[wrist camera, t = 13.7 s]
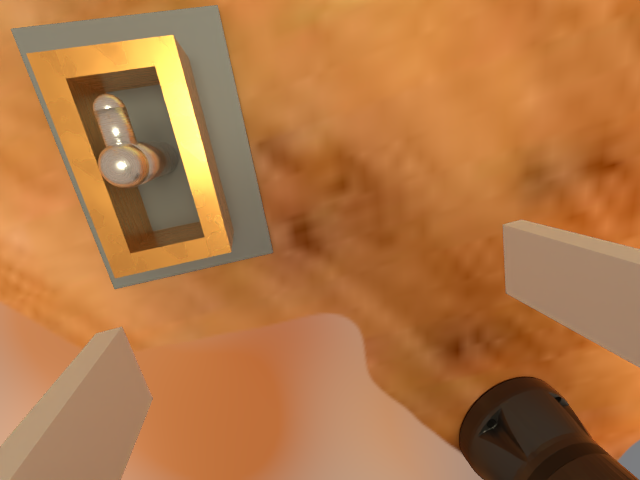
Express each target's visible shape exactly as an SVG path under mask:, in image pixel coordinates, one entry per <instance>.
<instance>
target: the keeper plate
mask: <svg viewBox="0 0 640 480" xmlns="http://www.w3.org/2000/svg"><path fill="white" fill-rule="evenodd" d="M11 31H12V33H13V36H14V38H15V41H16V43H17V46H18V48H19V51H20V53H21V56H22V58H23V61H24V63H25V66H26V68H27V71H28V73H29V76H30V78H31V81H32V83H33V86H34V88H35V91H36V94H37V96H38V99H39V101H40V104H41V106H42V109H43V111H44V114H45V116H46V119H47V121H48V124H49V126H50V129H51V131H52V134H53V136H54V139H55V141H56V144H57V146H58V149H59V151H60V154H61V156H62V159H63V161H64V164H65V166H66V169H67V171H68V174H69V176H70V179H71V181H72V184H73V186H74V189H75V191H76V194H77V196H78V199H79V201H80V204H81V206H82V209H83V211H84V214H85V216H86V219H87V221H88V224H89V226H90V229H91V231H92V234H93V236H94V239H95V241H96V244H97V246H98V249H99V251H100V254H101V256H102V259H103V261H104V264H105V267H106V269H107V272H108V274H109V277H110V279H111V282H112V284H113V287H114V289H118V288H122V287H127V286H131V285H135V284H140V283H144V282H148V281H153V280H157V279H161V278H166V277H170V276H175V275H179V274H183V273H188V272H192V271H196V270H201V269H205V268H209V267H214V266H218V265H223V264H227V263H231V262H236V261H240V260H244V259H249V258H253V257H257V256H262V255H266V254H271V253H273V249H272V245H271V240H270V236H269V231H268V227H267V223H266V218H265V214H264V209H263V205H262V200H261V196H260V192H259V187H258V183H257V178H256V174H255V169H254V165H253V161H252V156H251V152H250V147H249V143H248V138H247V134H246V129H245V125H244V121H243V116H242V112H241V107H240V103H239V98H238V94H237V90H236V85H235V81H234V76H233V72H232V67H231V63H230V59H229V54H228V50H227V45H226V41H225V36H224V32H223V28H222V23H221V19H220V14H219V10H218V5H214V6H205V7H196V8H188V9H179V10H170V11H161V12H153V13H144V14H135V15H127V16H118V17H109V18H101V19H92V20H83V21H74V22H66V23H57V24H48V25H40V26H31V27H22V28H13V29H11ZM167 35H174V37H175V38H176V40H177V41H178V43H179V44H180V46H181V47H182V49H183V50H184V52H185V53H186V55H187V56H188V58H189V61H190V65H191V68H192V72H193V76H194V80H195V84H196V88H197V91H198V95H199V99H200V103H201V107H202V111H203V114H204V118H205V122H206V126H207V130H208V134H209V137H210V141H211V145H212V149H213V153H214V157H215V160H216V164H217V168H218V172H219V176H220V180H221V183H222V187H223V191H224V195H225V199H226V203H227V206H228V210H229V214H230V218H231V222H232V226H233V229H234V235H233V244H232V252H230V253H226V254H221V255H217V256H212V257H208V258H203V259H199V260H195V261H190V262H186V263H181V264H177V265H172V266H168V267H164V268H159V269H155V270H150V271H146V272H142V273H137V274H133V275H128V276H124V277H119V278H115V277H114V275H113V272H112V269H111V267H110V264H109V262H108V259H107V257H106V254H105V252H104V249H103V247H102V244H101V242H100V239H99V237H98V234H97V232H96V229H95V227H94V224H93V221H92V219H91V216H90V214H89V211H88V209H87V206H86V204H85V201H84V199H83V196H82V194H81V191H80V189H79V186H78V184H77V181H76V178H75V176H74V173H73V171H72V168H71V166H70V163H69V161H68V158H67V156H66V153H65V151H64V148H63V146H62V143H61V141H60V138H59V136H58V133H57V130H56V128H55V125H54V123H53V120H52V118H51V115H50V113H49V110H48V108H47V105H46V103H45V100H44V98H43V95H42V93H41V90H40V87H39V85H38V82H37V80H36V77H35V75H34V72H33V70H32V67H31V65H30V62H29V60H28V57H27V55H26V53H33V52H41V51H49V50H57V49H65V48H73V47H81V46H89V45H96V44H104V43H112V42H120V41H128V40H136V39H144V38H152V37H160V36H167ZM106 94H111V95H114V96H116V97H118V98H119V99H121V100H122V102H123V103H124V104H125V106H126V109H127V112H128V115H129V118H130V121H131V124H132V127H133V130H134V133H135V136H136V139H137V142H165V143H168V144H169V145H171V146H172V147H173V148H174V149H175V150H176V152H177V154H178V158H179V162H178V165H177V167H176V168H175V170H173V171H172V172H170V173H168V174H165V175H163V176H160V177H158V178H156V179H153V180H151V181H149V182H146V183H144V184H142V185H139V186H138V189H139V192H140V195H141V198H142V201H143V204H144V207H145V209H146V212H147V215H148V218H149V221H150V224H151V227H152V230H153V231H157V230H162V229H166V228H171V227H176V226H181V225H185V224H190V223H195V222H200V219H199V216H198V212H197V209H196V205H195V202H194V198H193V195H192V192H191V188H190V185H189V181H188V178H187V174H186V171H185V168H184V164H183V161H182V157H181V154H180V150H179V147H178V143H177V140H176V137H175V133H174V130H173V126H172V123H171V119H170V116H169V113H168V109H167V106H166V102H165V99H164V95H163V92H162V88H161V85H160V84H159V85H152V86H146V87H139V88H132V89H125V90H118V91H112V92H106Z"/></svg>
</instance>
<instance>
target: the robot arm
mask: <svg viewBox="0 0 640 480" xmlns="http://www.w3.org/2000/svg"><path fill="white" fill-rule="evenodd" d="M503 241H504V263H505V285H506V294H508V295H510V296H512V297H514V298H515V299H517V300H519V301H521V302H523V303H524V304H526V305H528V306H530V307H532V308H533V309H535V310H537V311H539V312H541V313H542V314H544V315H546V316H548V317H550V318H551V319H553V320H555V321H557V322H559V323H560V324H562V325H564V326H566V327H568V328H569V329H571V330H573V331H575V332H577V333H578V334H580V335H582V336H584V337H586V338H587V339H589V340H591V341H593V342H595V343H596V344H598V345H600V346H602V347H604V348H605V349H607V350H609V351H611V352H613V353H614V354H616V355H618V356H620V357H622V358H623V359H625V360H627V361H629V362H631V363H632V364H634V365H636V366H638V367H640V249H637V248H633V247H629V246H625V245H621V244H617V243H613V242H609V241H605V240H601V239H597V238H593V237H589V236H585V235H581V234H577V233H573V232H569V231H565V230H561V229H557V228H553V227H549V226H545V225H541V224H537V223H533V222H529V221H525V220H518V221H514V222H510V223H507V224H503ZM152 400H153V398H152V396H151V393H150V391H149V389H148V386H147V384H146V382H145V379H144V377H143V374H142V372H141V370H140V367H139V365H138V363H137V360H136V358H135V356H134V353H133V351H132V349H131V346H130V344H129V342H128V339H127V337H126V334H125V332H124V330H123V327H119V328H115V329H111V330H108V331H104V332H100V333H96V334H95V335H94V337H93V338H92V339H91V340H90V341H89V342H88V344H87V345H86V346H85V347H84V348H83V349H82V351H81V352H80V353H79V354H78V355H77V357H76V358H75V359H74V360H73V361H72V362H71V364H70V365H69V366H68V367H67V368H66V370H65V371H64V372H63V373H62V374H61V375H60V377H59V378H58V379H57V380H56V381H55V382H54V384H53V385H52V386H51V387H50V388H49V390H48V391H47V392H46V393H45V394H44V395H43V397H42V398H41V399H40V400H39V401H38V402H37V404H36V405H35V406H34V407H33V409H32V410H31V411H30V412H29V413H28V414H27V416H26V417H25V418H24V419H23V420H22V421H21V422H20V424H19V425H18V426H17V427H16V428H15V430H14V431H13V432H12V433H11V434H10V436H9V437H8V438H7V439H6V440H5V441H4V442H3V444H2V445H1V446H0V480H121V478H122V475H123V473H124V470H125V468H126V465H127V463H128V460H129V458H130V455H131V453H132V450H133V447H134V445H135V442H136V440H137V438H138V435H139V432H140V430H141V427H142V425H143V422H144V420H145V417H146V415H147V412H148V409H149V407H150V405H151V402H152ZM460 448H461V451H462V454H463V455H464V457H465V458H466V460H467V461H468V463H469V464H470V466H471V467H472V468H473V470H474V471H475V472H476V473H477V474H478V475H479V476H480V477H481V478H482V479H484V480H639V479H637V478H636V477H635V476H634V475H633V474H632V473H631V472H629V471H628V470H627V469H626V468H625V467H623V466H622V465H621V464H620V463H619V462H618V461H616V460H615V459H614V458H613V457H612V456H610V455H609V454H608V453H607V452H606V451H605V450H603V449H602V448H601V447H600V446H599V445H598V444H597V443H596V442H595V441H594V440H593V439H592V437H591V436H590V434H589V433H588V431H587V430H586V429H585V427H584V426H583V424H582V423H581V421H580V420H579V419H578V417H577V416H576V414H575V413H574V411H573V410H572V409H571V407H570V406H569V404H568V403H567V401H566V400H565V399H564V398H563V397H562V396H561V395H560V394H559V393H558V392H557V391H556V390H554V389H553V388H552V387H551V386H549V385H548V384H547V383H545V382H544V381H542V380H539V379H536V378H530V377H523V378H516V379H512V380H509V381H506V382H504V383H502V384H500V385H498V386H496V387H494V388H493V389H491V390H490V391H488V392H487V393H486V394H484V395H483V396H482V397H481V398H480V399H479V400H478V401H477V402H476V403H475V404H474V406H473V407H472V408H471V410H470V411H469V413H468V414H467V416H466V418H465V420H464V422H463V425H462V428H461V431H460Z"/></svg>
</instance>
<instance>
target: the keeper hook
mask: <svg viewBox="0 0 640 480" xmlns="http://www.w3.org/2000/svg"><path fill="white" fill-rule="evenodd" d="M93 111H94V114H95V117H96V120H97V123H98V126H99V128H100V131H101V134H102V137H103V140H104V142H105V145H106V148H104V149H103V150H102V152H101V153H100V155H99V159H98V167H99V171H100V173H101V175H102V176H103V177H104V179H105V180H106V181H108V182H109V183H110V184H112V185H114V186H116V187H120V188H134V187H137V186H139V185H142V184H144V183H146V182H149V181H151V180H153V179H156V178H158V177H160V176H163V175H165V174H168V173H170V172H172V171H173V170H175V168H176V167H177V165H178V162H179V158H178V154H177V152H176V150H175V149H174V148H173V147H172V146H171V145H169V144H168V143H165V142H137V139H136V136H135V133H134V130H133V127H132V124H131V121H130V118H129V115H128V112H127V109H126V106H125V104H124V103H123V102H122V100H121V99H119V98H118V97H116V96H114V95H111V94H102V95H100V96H98V97H97V98H96V99H95V100H94V102H93Z"/></svg>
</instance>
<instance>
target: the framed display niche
mask: <svg viewBox="0 0 640 480" xmlns="http://www.w3.org/2000/svg"><path fill="white" fill-rule="evenodd" d="M26 55H27V57H28V60H29V62H30V65H31V67H32V70H33V72H34V75H35V77H36V80H37V82H38V85H39V87H40V90H41V93H42V95H43V98H44V100H45V103H46V105H47V108H48V110H49V113H50V115H51V118H52V120H53V123H54V125H55V128H56V130H57V133H58V136H59V138H60V141H61V143H62V146H63V148H64V151H65V153H66V156H67V158H68V161H69V163H70V166H71V168H72V171H73V173H74V176H75V178H76V181H77V184H78V186H79V189H80V191H81V194H82V196H83V199H84V201H85V204H86V206H87V209H88V211H89V214H90V216H91V219H92V221H93V224H94V227H95V229H96V232H97V234H98V237H99V239H100V242H101V244H102V247H103V249H104V252H105V254H106V257H107V259H108V262H109V264H110V267H111V269H112V272H113V275H114V277H115V278H119V277H124V276H128V275H133V274H137V273H142V272H146V271H150V270H155V269H159V268H164V267H168V266H172V265H177V264H181V263H186V262H190V261H195V260H199V259H203V258H208V257H212V256H217V255H221V254H226V253H230V252H232V244H233V235H234V229H233V226H232V222H231V218H230V214H229V210H228V206H227V203H226V199H225V195H224V191H223V187H222V183H221V180H220V176H219V172H218V168H217V164H216V160H215V157H214V153H213V149H212V145H211V141H210V137H209V134H208V130H207V126H206V122H205V118H204V114H203V111H202V107H201V103H200V99H199V95H198V91H197V88H196V84H195V80H194V76H193V72H192V68H191V65H190V61H189V58H188V56H187V55H186V53H185V52H184V50H183V49H182V47H181V46H180V44H179V43H178V41H177V40H176V38H175V37H174V35H167V36H160V37H152V38H144V39H136V40H128V41H120V42H112V43H104V44H96V45H89V46H81V47H73V48H65V49H57V50H49V51H41V52H33V53H26ZM159 84H160V85H161V88H162V92H163V95H164V99H165V102H166V106H167V109H168V113H169V116H170V119H171V123H172V126H173V130H174V133H175V137H176V140H177V143H178V147H179V150H180V154H181V157H182V161H183V164H184V168H185V171H186V174H187V178H188V181H189V185H190V188H191V192H192V195H193V198H194V202H195V205H196V209H197V212H198V216H199V219H200V222H195V223H190V224H185V225H181V226H176V227H171V228H166V229H162V230H157V231H153V230H152V227H151V224H150V221H149V218H148V215H147V212H146V209H145V207H144V204H143V201H142V198H141V195H140V192H139V189H138V186H137V187H134V188H120V187H116V186H114V185H112V184H110V183H109V182H108V181H106V180H105V179H104V177H103V176H102V175H101V173H100V171H99V167H98V159H99V155H100V153H101V152H102V150H103V149H104V148H106V145H105V142H104V140H103V137H102V134H101V131H100V128H99V126H98V123H97V120H96V117H95V114H94V111H93V102H94V100H95V99H96V98H97V97H98V96H100V95H102V94H106V92H112V91H118V90H125V89H132V88H139V87H146V86H152V85H159Z"/></svg>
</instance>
